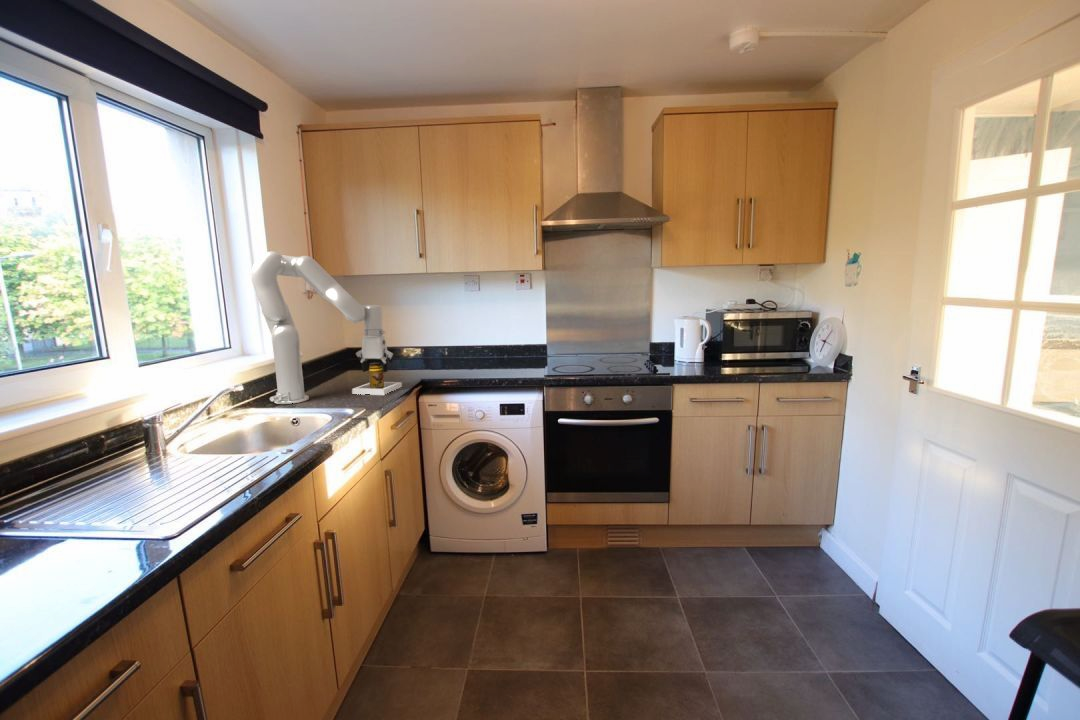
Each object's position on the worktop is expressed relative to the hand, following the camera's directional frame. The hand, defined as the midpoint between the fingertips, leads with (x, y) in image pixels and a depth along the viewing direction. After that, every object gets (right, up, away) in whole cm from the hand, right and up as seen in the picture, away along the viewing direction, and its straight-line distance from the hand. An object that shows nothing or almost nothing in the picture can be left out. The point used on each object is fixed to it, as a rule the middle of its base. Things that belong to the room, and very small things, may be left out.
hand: (375, 371), depth 205 cm
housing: (+1, -9, +2) cm, 9 cm away
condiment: (0, -8, +2) cm, 8 cm away
